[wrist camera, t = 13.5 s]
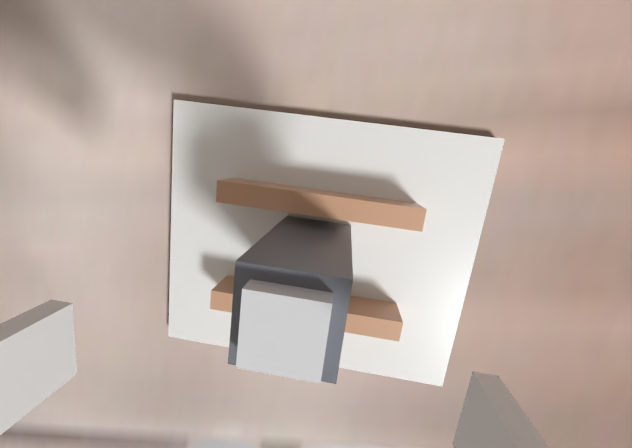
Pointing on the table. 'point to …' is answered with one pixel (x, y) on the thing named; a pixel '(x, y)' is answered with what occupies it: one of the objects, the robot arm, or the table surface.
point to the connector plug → (293, 300)
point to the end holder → (333, 206)
